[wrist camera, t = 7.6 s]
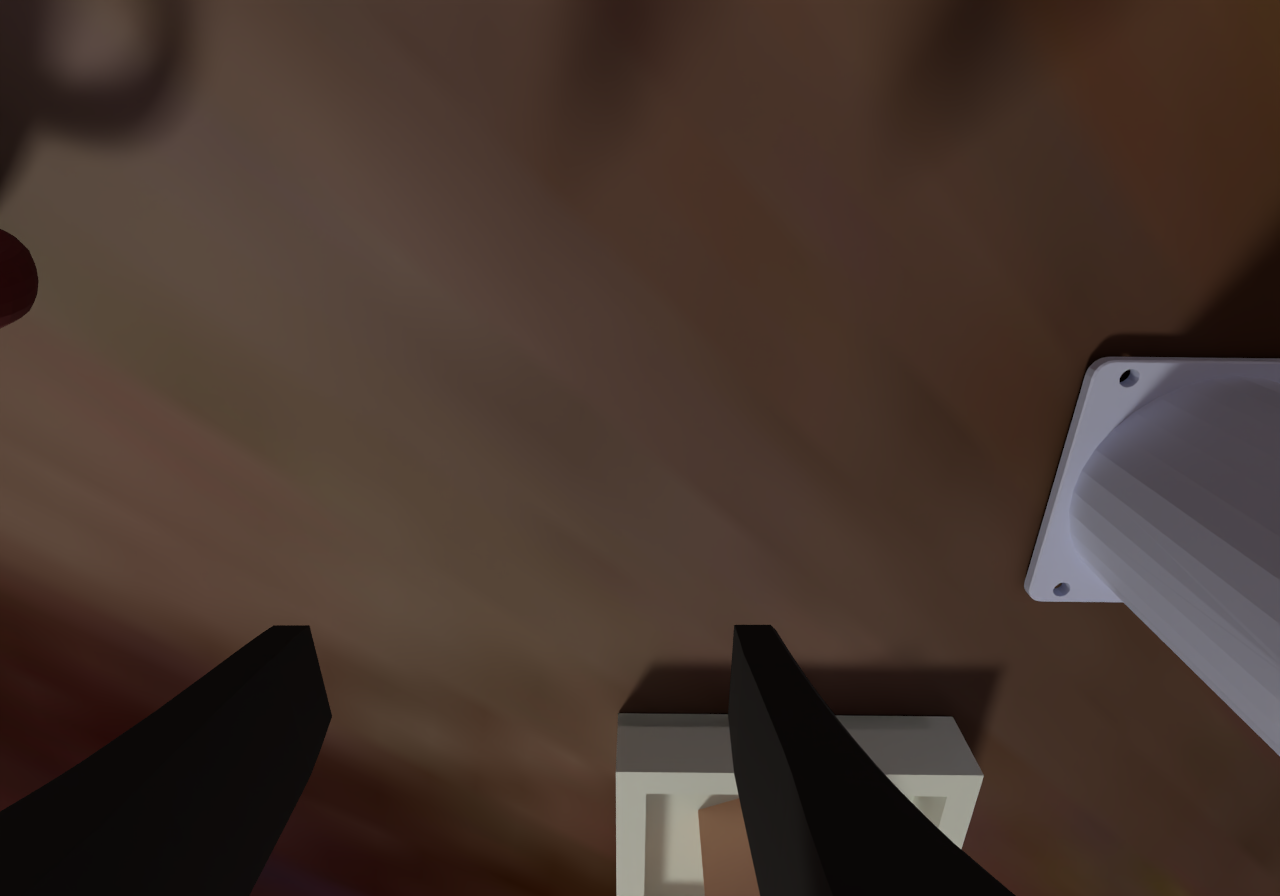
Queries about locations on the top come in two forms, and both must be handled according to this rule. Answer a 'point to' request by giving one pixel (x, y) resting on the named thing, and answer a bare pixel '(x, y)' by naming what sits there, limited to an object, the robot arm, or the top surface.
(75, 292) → the top surface
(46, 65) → the top surface
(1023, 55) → the top surface
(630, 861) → the tray
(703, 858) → the block
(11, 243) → the mug
